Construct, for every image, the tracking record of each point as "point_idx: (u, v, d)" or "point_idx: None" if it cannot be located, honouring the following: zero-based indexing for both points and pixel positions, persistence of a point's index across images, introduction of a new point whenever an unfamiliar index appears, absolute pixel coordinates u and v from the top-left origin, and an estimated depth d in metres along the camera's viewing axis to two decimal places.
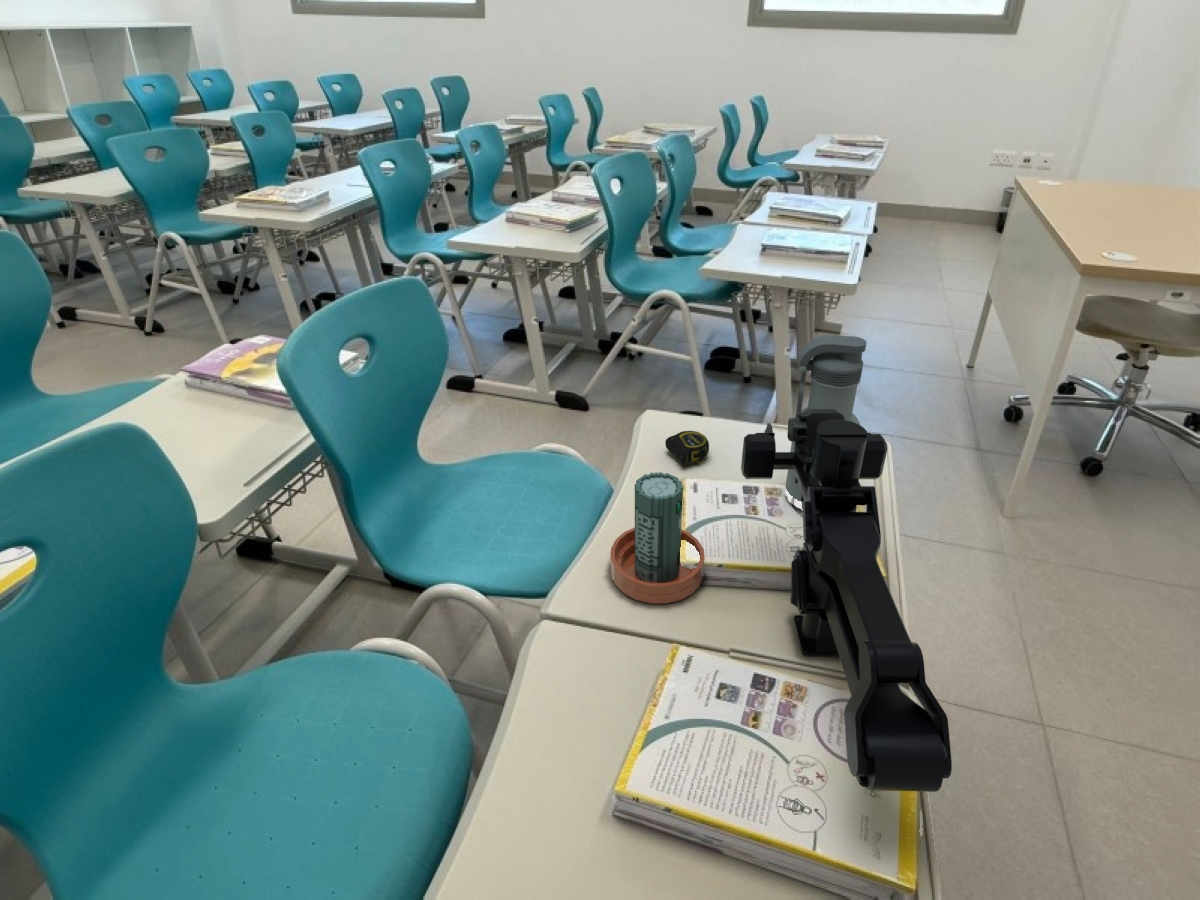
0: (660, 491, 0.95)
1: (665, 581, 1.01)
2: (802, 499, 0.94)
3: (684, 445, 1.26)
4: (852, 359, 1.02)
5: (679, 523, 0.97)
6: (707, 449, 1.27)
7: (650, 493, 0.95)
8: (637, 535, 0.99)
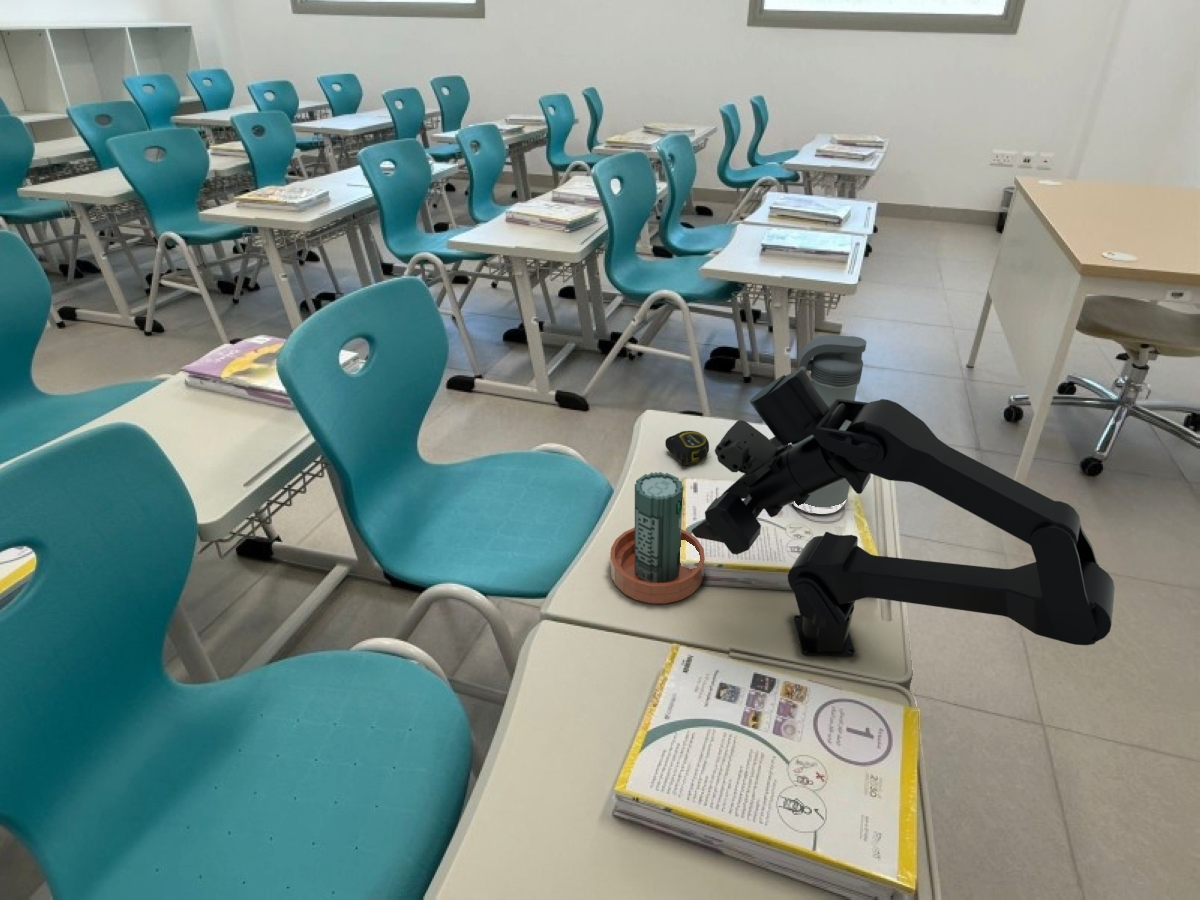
0: (660, 491, 0.95)
1: (665, 581, 1.01)
2: (803, 500, 0.81)
3: (684, 445, 1.26)
4: (852, 359, 1.02)
5: (679, 523, 0.97)
6: (707, 449, 1.27)
7: (650, 493, 0.95)
8: (637, 535, 0.99)
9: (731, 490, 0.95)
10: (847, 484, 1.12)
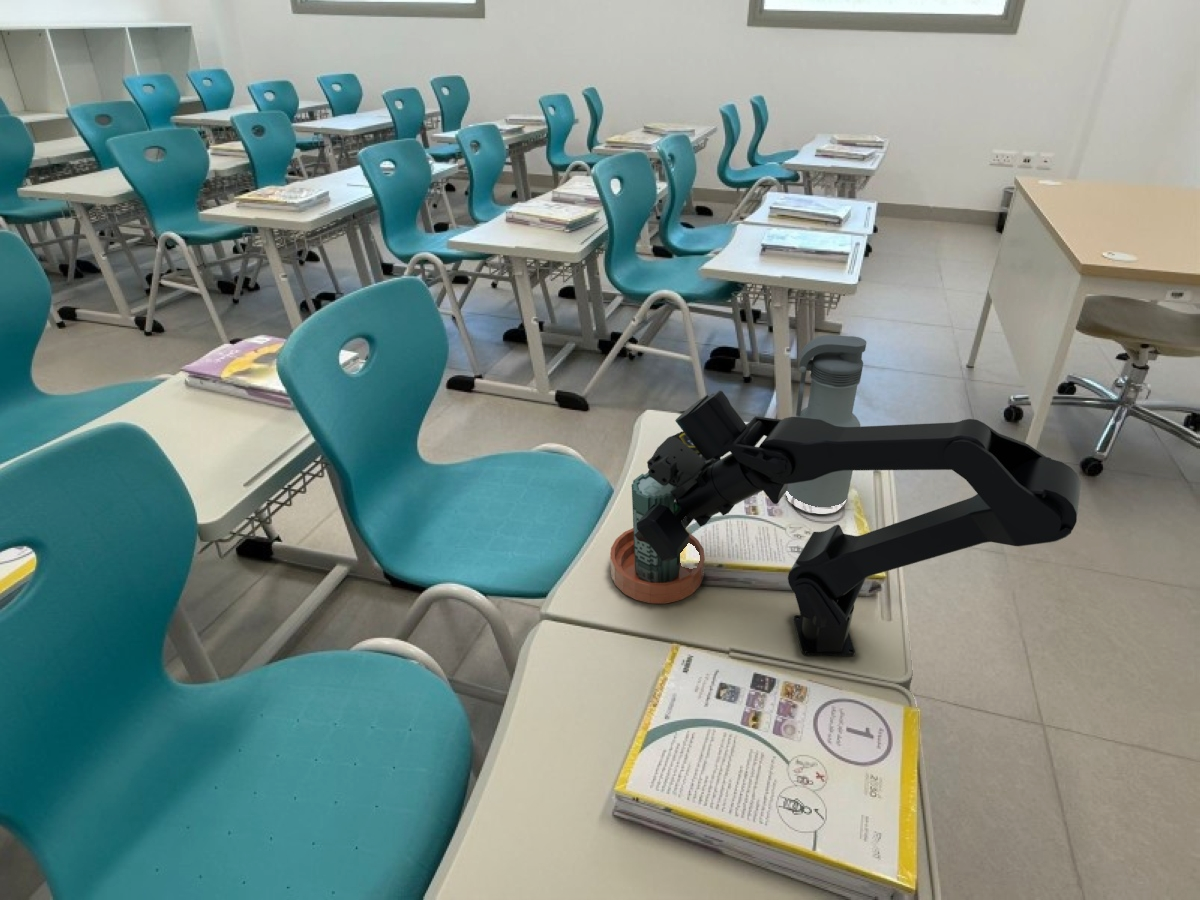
0: (657, 491, 0.95)
1: (665, 580, 1.01)
2: (727, 510, 0.88)
3: None
4: (852, 359, 1.02)
5: None
6: None
7: (648, 492, 0.95)
8: None
9: None
10: (847, 484, 1.12)
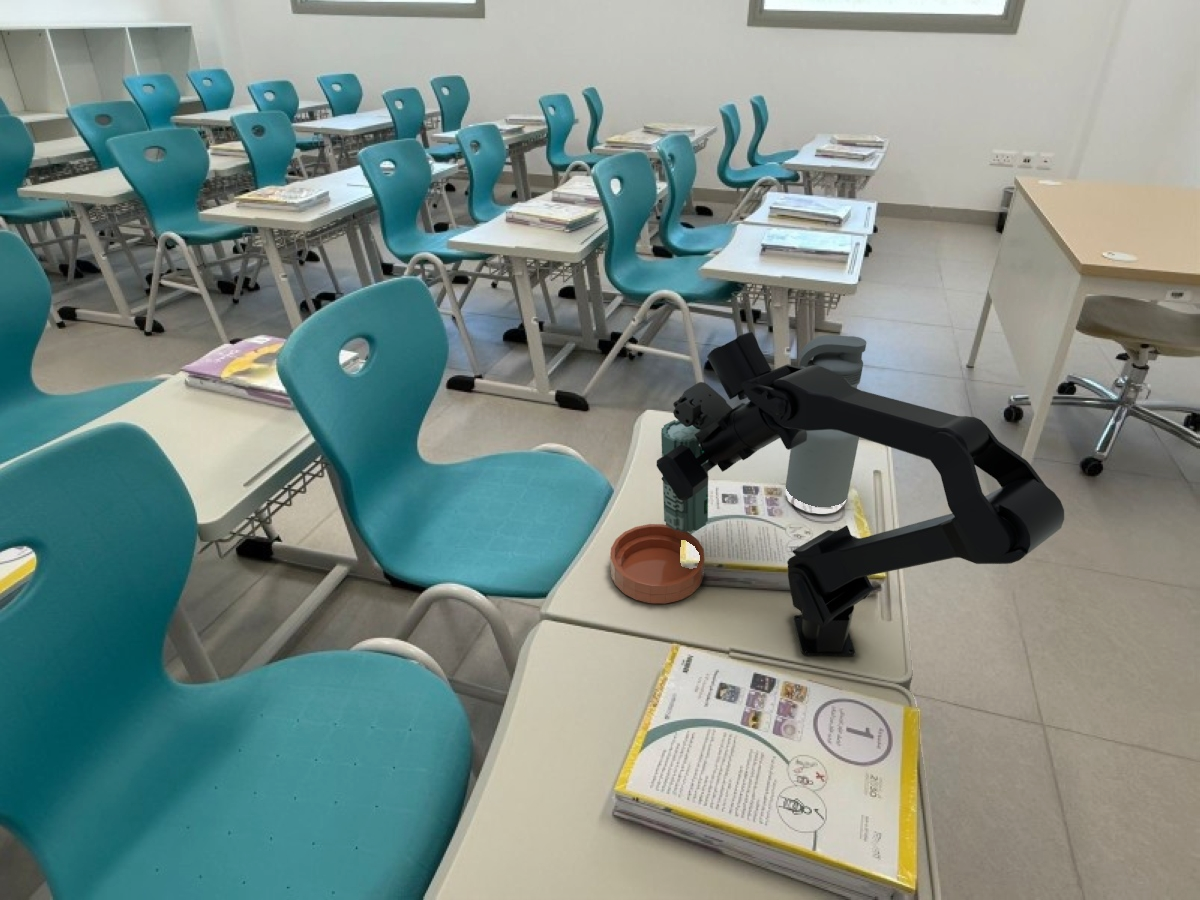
0: (685, 436, 0.97)
1: (691, 528, 1.02)
2: (747, 455, 0.89)
3: None
4: (852, 359, 1.02)
5: None
6: None
7: (675, 436, 0.97)
8: None
9: None
10: (847, 484, 1.12)
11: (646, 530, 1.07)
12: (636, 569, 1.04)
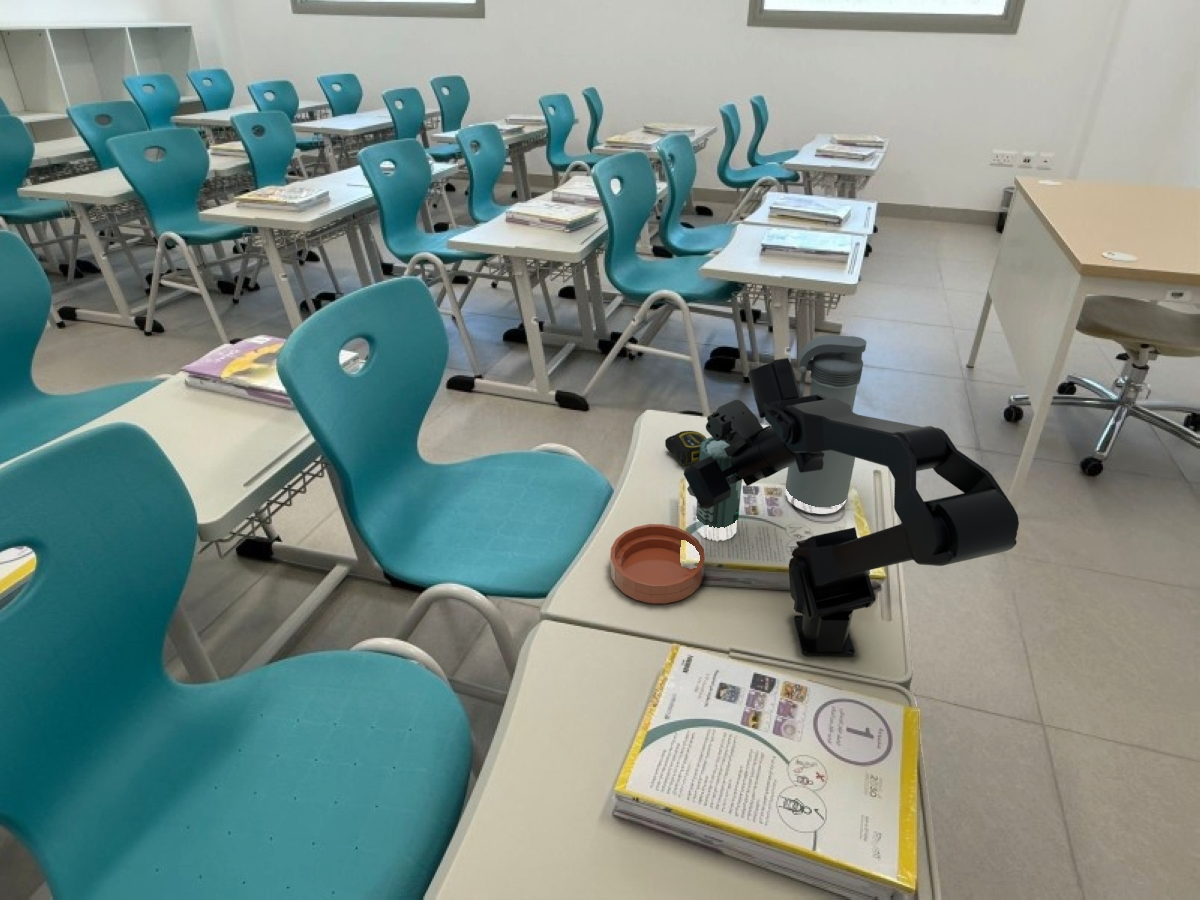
0: (722, 452, 1.03)
1: None
2: (769, 473, 0.94)
3: (684, 445, 1.26)
4: (852, 359, 1.02)
5: (737, 486, 1.04)
6: None
7: (713, 452, 1.03)
8: None
9: None
10: (847, 484, 1.12)
11: (646, 530, 1.07)
12: (636, 569, 1.04)
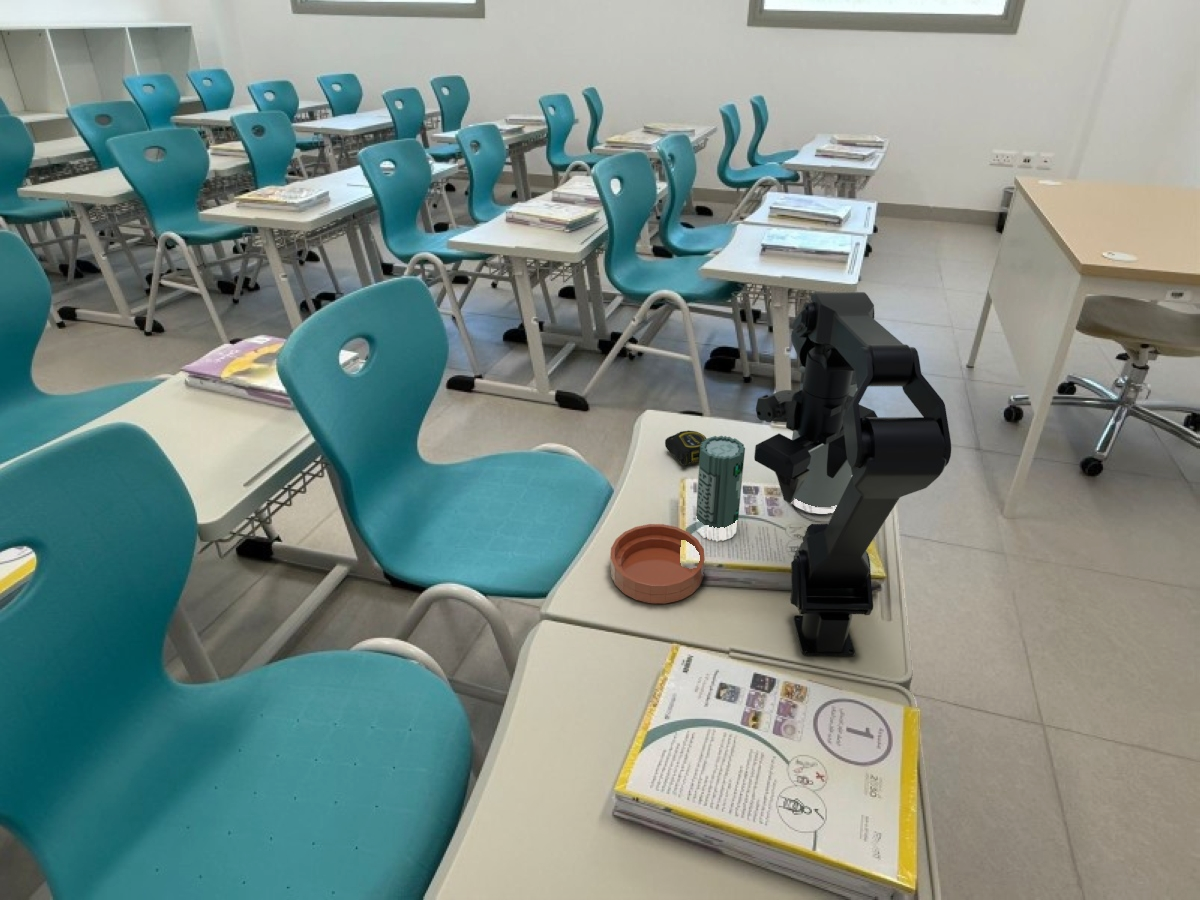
0: (722, 452, 1.03)
1: None
2: (830, 408, 0.89)
3: (684, 445, 1.26)
4: None
5: (737, 486, 1.04)
6: None
7: (713, 452, 1.03)
8: (698, 490, 1.08)
9: (829, 467, 1.01)
10: (847, 484, 1.12)
11: (646, 530, 1.07)
12: (636, 569, 1.04)
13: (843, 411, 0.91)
